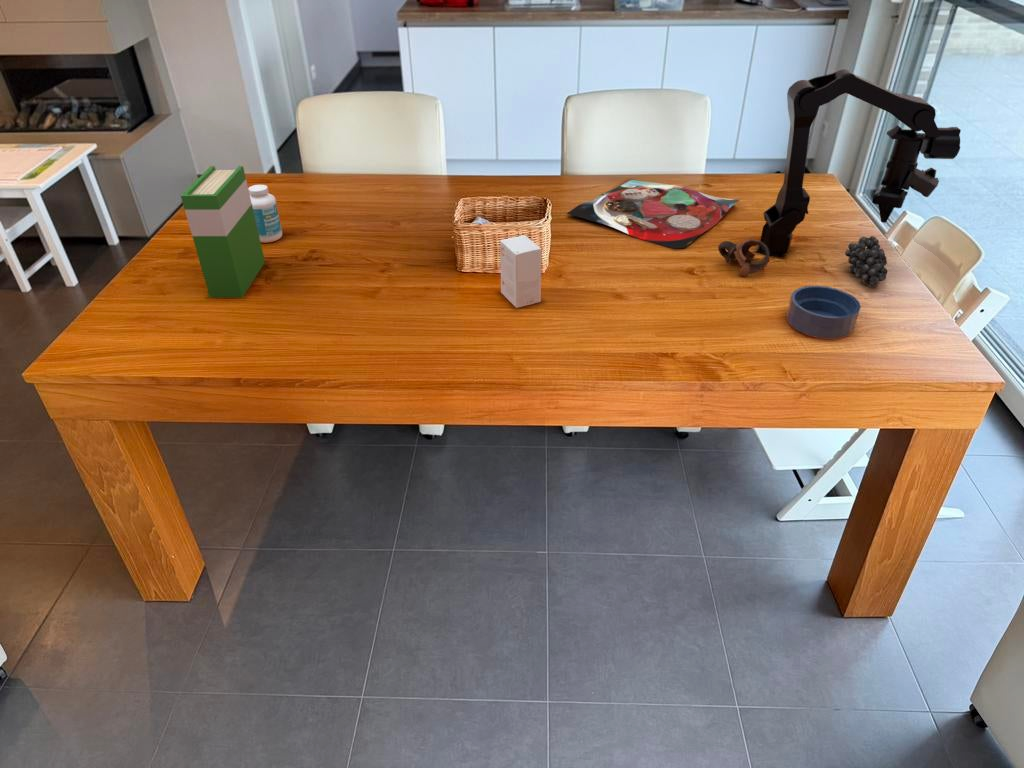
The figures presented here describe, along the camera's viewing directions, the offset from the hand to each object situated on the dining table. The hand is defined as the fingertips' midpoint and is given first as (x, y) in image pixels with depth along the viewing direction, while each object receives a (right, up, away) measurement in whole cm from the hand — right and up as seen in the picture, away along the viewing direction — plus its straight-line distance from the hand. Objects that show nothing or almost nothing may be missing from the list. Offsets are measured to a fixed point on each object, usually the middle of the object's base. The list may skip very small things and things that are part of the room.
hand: (883, 221), depth 176 cm
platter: (-50, +8, +27) cm, 57 cm away
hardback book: (-154, -14, -3) cm, 154 cm away
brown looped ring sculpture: (-35, -11, 0) cm, 36 cm away
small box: (-87, -20, -11) cm, 90 cm away
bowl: (-25, -26, -22) cm, 42 cm away
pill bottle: (-153, -1, +16) cm, 153 cm away
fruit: (-8, -14, -5) cm, 17 cm away
